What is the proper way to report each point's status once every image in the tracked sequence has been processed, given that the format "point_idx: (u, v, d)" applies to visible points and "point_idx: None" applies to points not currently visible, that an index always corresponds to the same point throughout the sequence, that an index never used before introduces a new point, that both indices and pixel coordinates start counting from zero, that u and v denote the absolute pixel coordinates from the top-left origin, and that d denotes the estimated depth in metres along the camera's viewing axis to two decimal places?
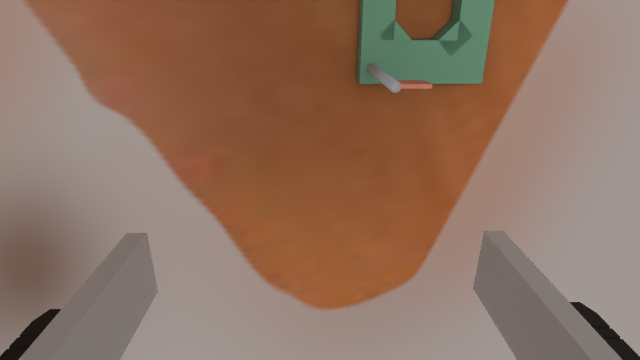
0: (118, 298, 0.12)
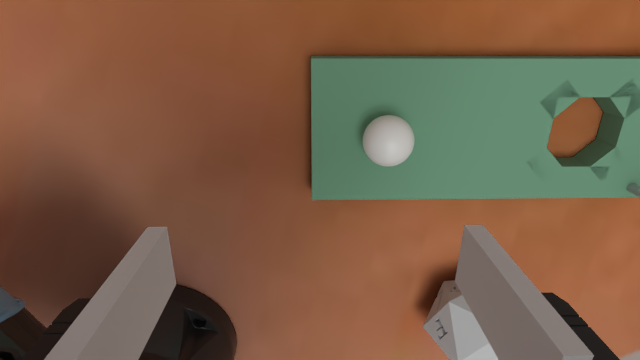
0: (143, 288, 0.13)
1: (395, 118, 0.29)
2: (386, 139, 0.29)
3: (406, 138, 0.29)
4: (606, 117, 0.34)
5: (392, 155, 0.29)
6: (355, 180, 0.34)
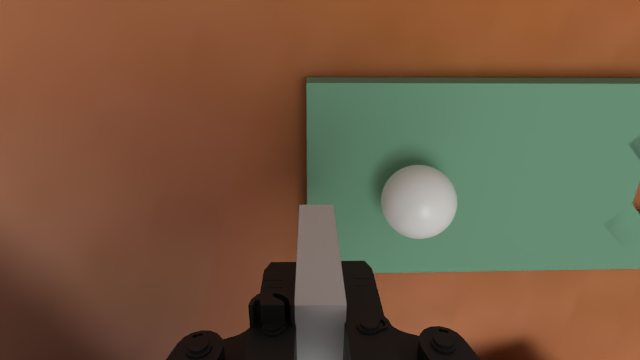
0: None
1: (430, 171, 0.20)
2: (418, 204, 0.19)
3: (448, 202, 0.19)
4: None
5: (427, 227, 0.20)
6: (367, 248, 0.24)
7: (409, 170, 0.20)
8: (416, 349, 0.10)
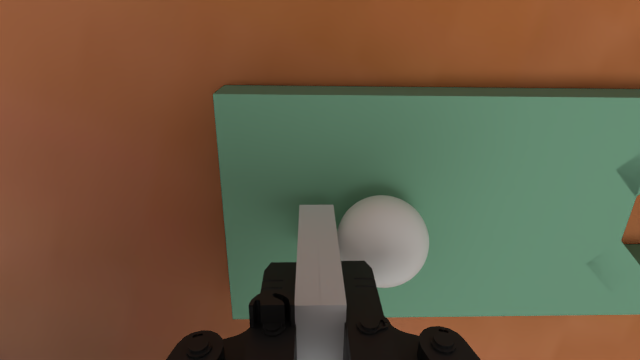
0: None
1: (397, 202, 0.16)
2: (405, 248, 0.15)
3: (427, 235, 0.16)
4: None
5: (414, 272, 0.16)
6: None
7: (374, 207, 0.16)
8: (416, 349, 0.10)
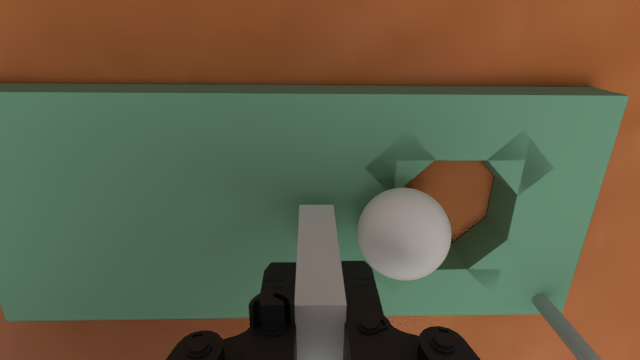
0: None
1: (420, 193, 0.16)
2: (434, 239, 0.15)
3: (449, 224, 0.16)
4: (497, 186, 0.21)
5: (441, 262, 0.16)
6: (71, 291, 0.20)
7: (399, 199, 0.16)
8: (416, 349, 0.10)
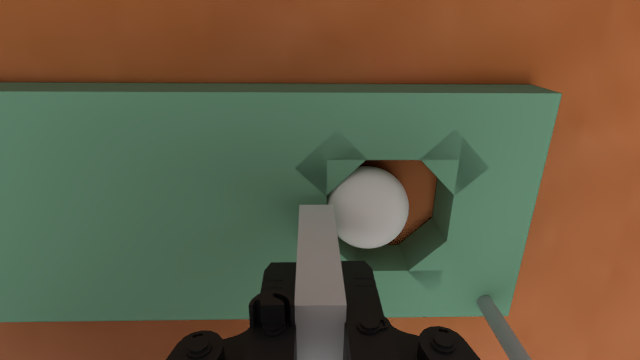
0: None
1: (370, 166, 0.19)
2: None
3: None
4: (439, 186, 0.20)
5: None
6: (5, 293, 0.20)
7: (379, 175, 0.18)
8: (416, 349, 0.10)
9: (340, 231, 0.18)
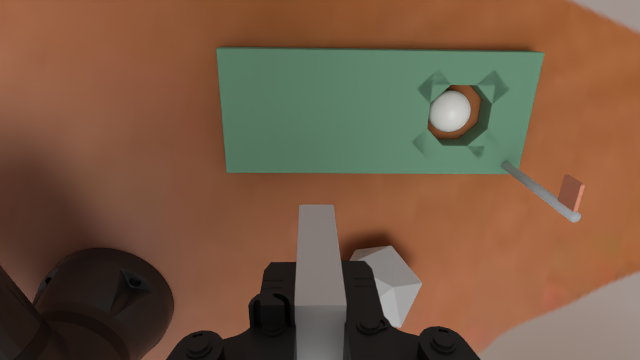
0: None
1: (451, 90, 0.38)
2: None
3: None
4: (483, 103, 0.39)
5: None
6: (262, 155, 0.39)
7: (457, 92, 0.37)
8: (416, 349, 0.10)
9: (438, 120, 0.37)
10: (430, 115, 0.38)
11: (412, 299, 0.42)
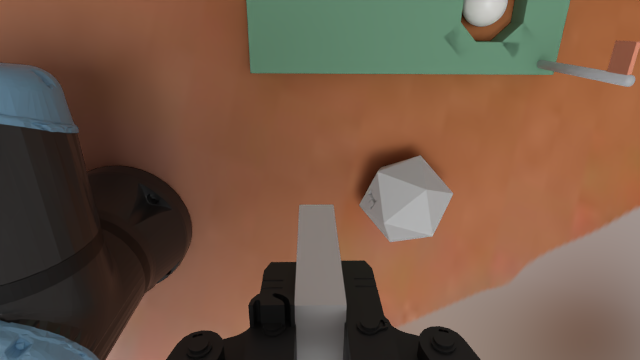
0: None
1: None
2: None
3: None
4: None
5: None
6: (288, 53, 0.37)
7: None
8: (416, 349, 0.10)
9: (476, 10, 0.35)
10: (466, 7, 0.36)
11: (443, 208, 0.40)
